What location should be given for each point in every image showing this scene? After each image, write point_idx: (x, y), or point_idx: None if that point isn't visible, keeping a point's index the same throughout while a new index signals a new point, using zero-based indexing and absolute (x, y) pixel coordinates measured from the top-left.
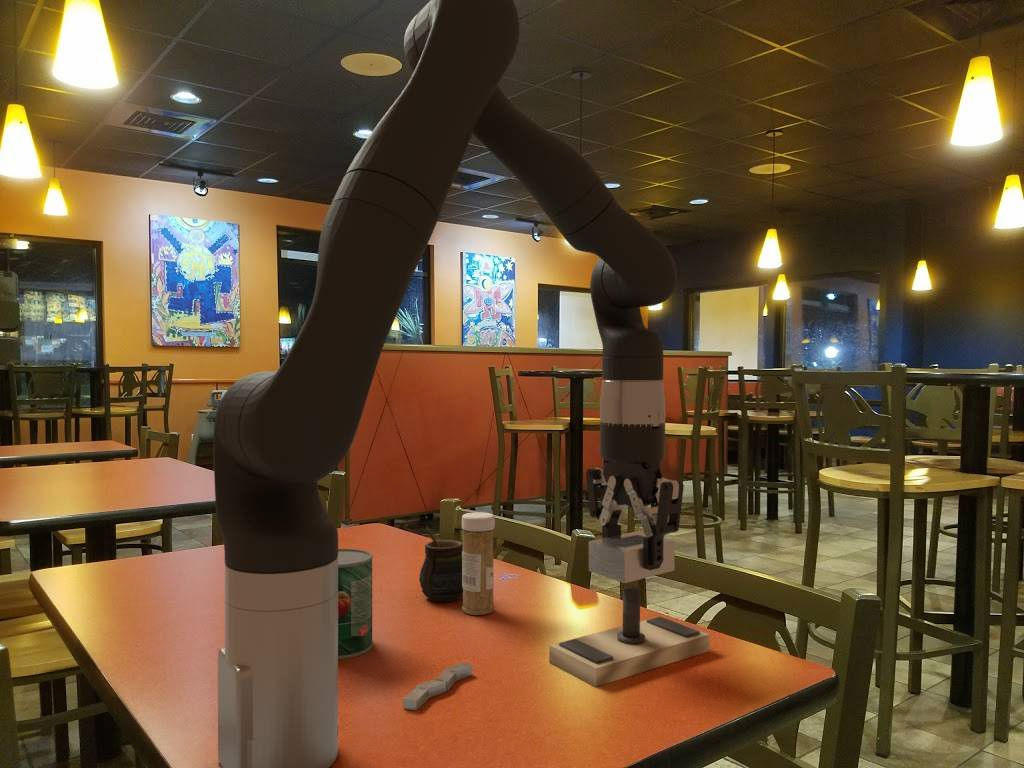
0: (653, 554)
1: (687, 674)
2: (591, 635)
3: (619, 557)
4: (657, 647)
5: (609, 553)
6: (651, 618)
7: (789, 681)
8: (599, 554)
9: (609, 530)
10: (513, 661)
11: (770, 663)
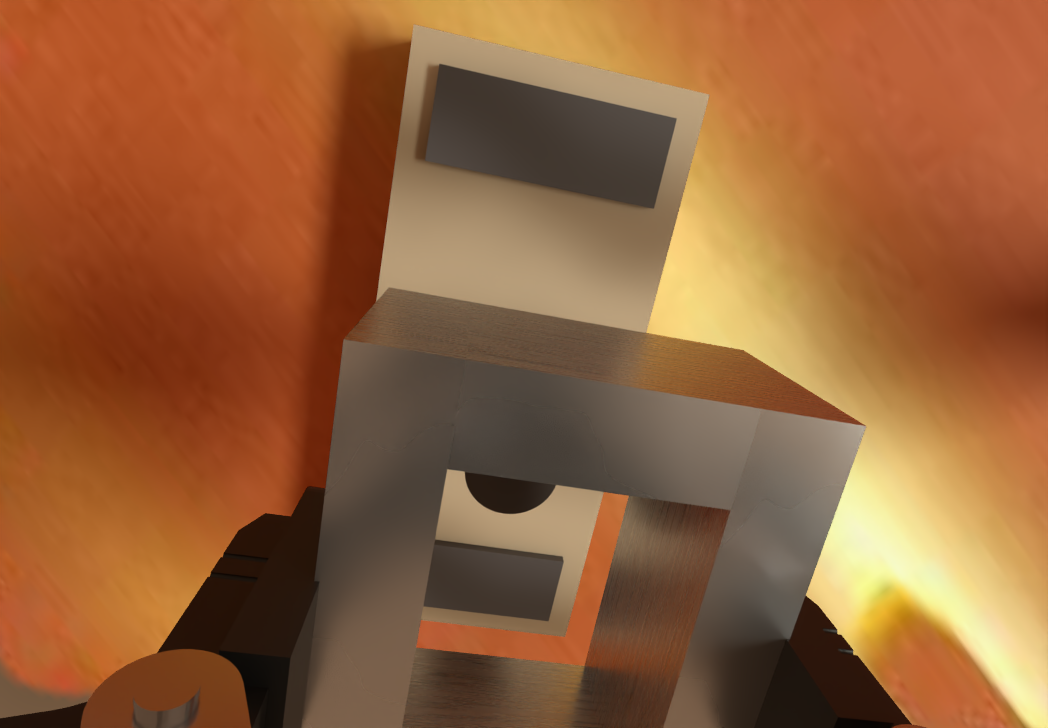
0: (230, 568)
1: (275, 370)
2: (640, 307)
3: (428, 337)
4: None
5: (561, 361)
6: (573, 598)
7: (34, 543)
8: (682, 373)
9: (811, 709)
10: (799, 8)
11: (160, 617)
